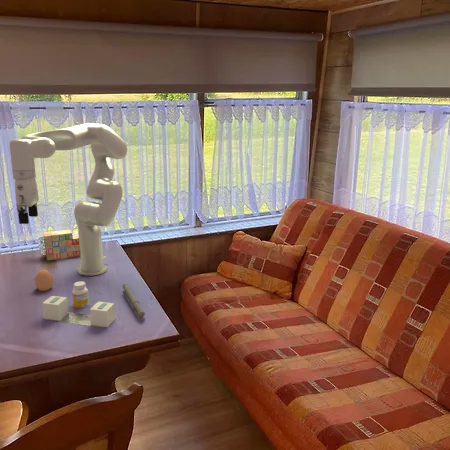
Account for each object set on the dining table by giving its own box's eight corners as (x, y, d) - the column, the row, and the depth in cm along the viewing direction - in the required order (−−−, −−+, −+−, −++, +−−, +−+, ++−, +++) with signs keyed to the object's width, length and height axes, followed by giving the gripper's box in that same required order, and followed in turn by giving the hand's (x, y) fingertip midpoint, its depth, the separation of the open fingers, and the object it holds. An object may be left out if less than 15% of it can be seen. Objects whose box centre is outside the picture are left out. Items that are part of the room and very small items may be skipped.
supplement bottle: (75, 304, 174) (73, 280, 171) (90, 303, 175) (88, 280, 172) (72, 311, 169) (70, 286, 166) (87, 310, 170) (85, 286, 167)
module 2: (99, 316, 163) (98, 300, 161) (115, 318, 162) (114, 302, 160) (91, 325, 157) (89, 308, 155) (107, 327, 156) (106, 310, 154)
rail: (54, 313, 167) (54, 310, 167) (116, 321, 162) (115, 318, 162) (43, 322, 161) (43, 319, 160) (106, 331, 156) (106, 328, 156)
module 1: (53, 310, 167) (52, 295, 165) (68, 312, 165) (67, 297, 163) (43, 318, 161) (42, 302, 159) (59, 320, 160) (57, 304, 158)
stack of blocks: (91, 250, 230) (89, 227, 226) (93, 254, 225) (91, 230, 221) (45, 256, 221) (43, 232, 218) (46, 260, 216) (44, 235, 212)
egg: (32, 292, 183) (29, 271, 180) (45, 286, 189) (42, 265, 186) (44, 296, 180) (42, 274, 178) (57, 289, 186) (55, 268, 184)
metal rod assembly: (122, 295, 183) (121, 283, 181) (129, 294, 184) (128, 282, 182) (138, 325, 161) (138, 312, 159) (146, 323, 162) (146, 311, 160)
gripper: (26, 178, 157) (31, 226, 162) (42, 170, 174) (46, 213, 179) (3, 178, 157) (9, 226, 162) (22, 169, 174) (26, 213, 178)
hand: (28, 219), depth 170 cm, fingers open, 9 cm apart
